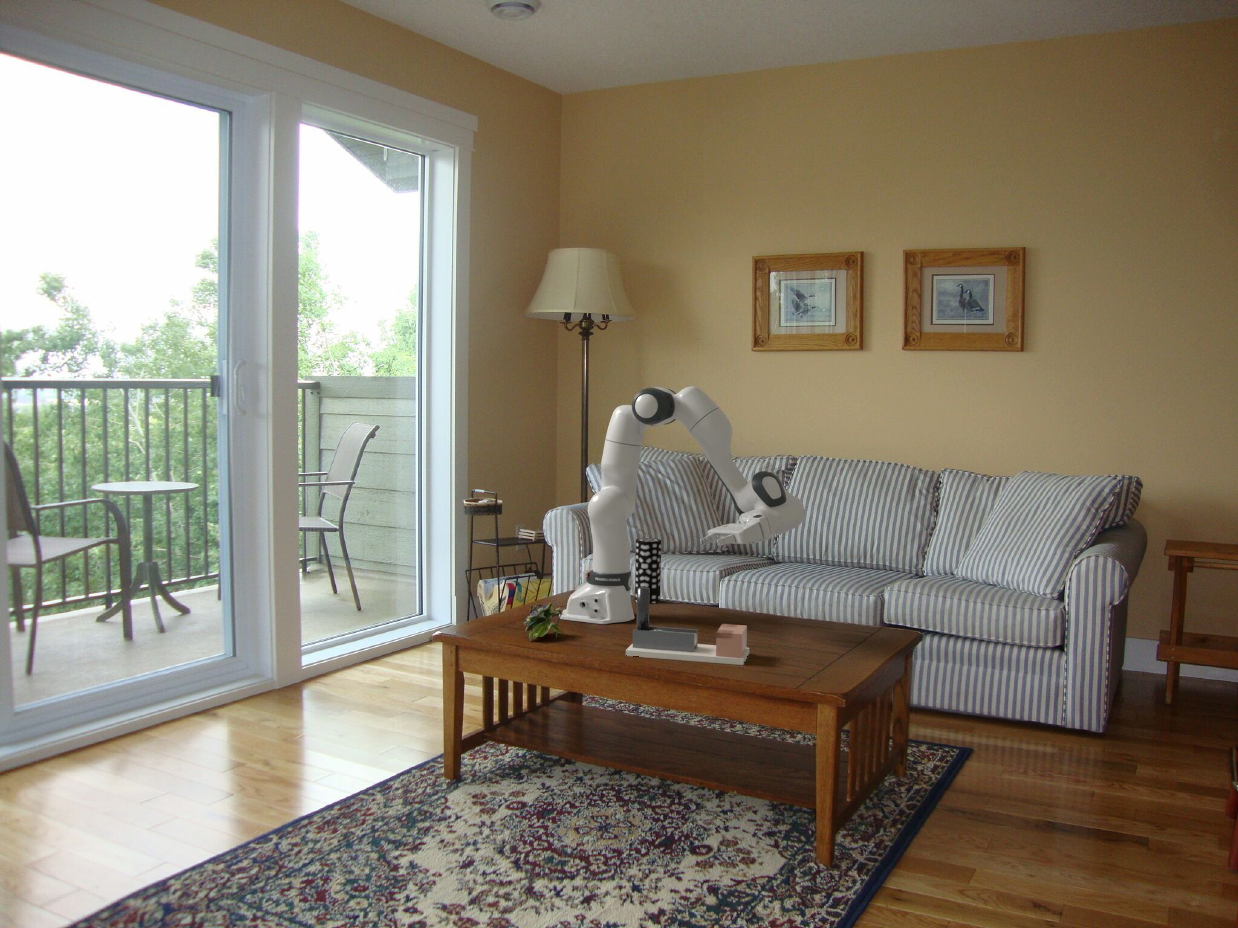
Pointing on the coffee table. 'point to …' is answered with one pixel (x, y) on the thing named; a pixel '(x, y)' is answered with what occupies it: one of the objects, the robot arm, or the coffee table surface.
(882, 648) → the coffee table surface
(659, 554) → the white-spotted black cylinder
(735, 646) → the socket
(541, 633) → the passion flower
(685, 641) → the grey guide channel
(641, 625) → the slide bolt
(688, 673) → the coffee table surface
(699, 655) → the base board
